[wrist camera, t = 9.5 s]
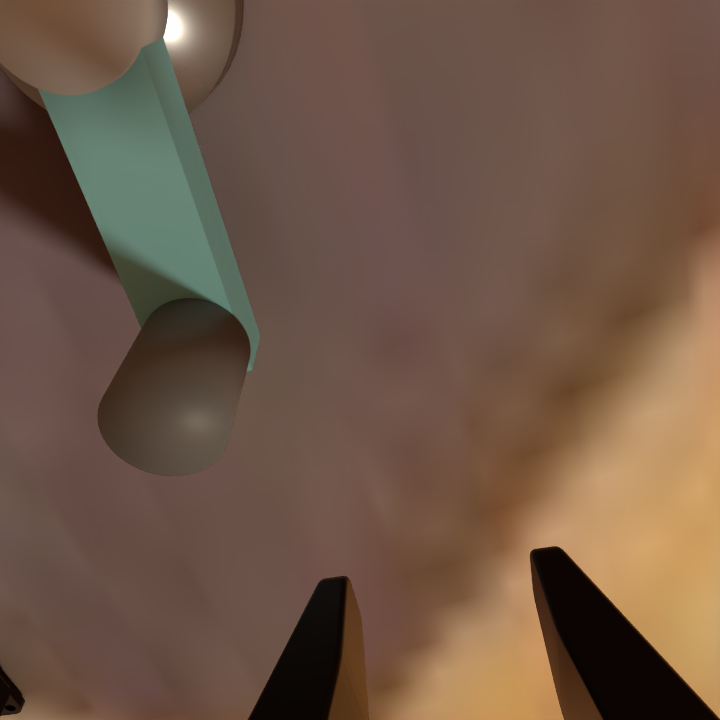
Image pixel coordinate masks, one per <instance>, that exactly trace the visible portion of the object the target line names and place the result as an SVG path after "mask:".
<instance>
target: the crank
mask: <svg viewBox="0 0 720 720" xmlns="http://www.w3.org/2000/svg"><path fill="white" fill-rule="evenodd" d="M167 21H168V0H0V63H1V64H2V65H3V66H4V67H5V68H6V69H8V70H9V71H10V72H11V73H12V74H14V75H15V76H17V77H18V78H19V79H21V80H22V81H24V82H26V83H28V84H30V85H32V86H33V87H36V88H38V90H39V92H40V95H41V97H42V99H43V102H44V104H45V106H46V109H47V111H48V113H49V116H50V118H51V120H52V123H53V125H54V127H55V129H56V132H57V134H58V136H59V139H60V141H61V143H62V146H63V148H64V150H65V153H66V155H67V157H68V160H69V162H70V164H71V167H72V169H73V171H74V173H75V176H76V178H77V180H78V183H79V185H80V187H81V190H82V192H83V194H84V197H85V199H86V201H87V204H88V206H89V208H90V210H91V213H92V215H93V217H94V220H95V222H96V224H97V227H98V229H99V231H100V234H101V236H102V238H103V241H104V243H105V245H106V248H107V250H108V252H109V254H110V257H111V259H112V261H113V264H114V266H115V268H116V271H117V273H118V275H119V278H120V280H121V282H122V285H123V287H124V289H125V291H126V294H127V296H128V298H129V301H130V303H131V305H132V308H133V310H134V312H135V315H136V317H137V319H138V322H139V324H140V326H141V331H140V332H139V334H138V336H137V338H136V339H135V341H134V343H133V345H132V347H131V348H130V350H129V352H128V354H127V355H126V357H125V359H124V361H123V362H122V364H121V366H120V368H119V369H118V371H117V373H116V375H115V376H114V378H113V380H112V382H111V383H110V385H109V387H108V389H107V391H106V392H105V394H104V396H103V398H102V400H101V402H100V404H99V408H98V425H99V429H100V432H101V434H102V437H103V438H104V440H105V442H106V443H107V445H108V446H109V447H110V448H111V450H112V451H113V452H114V453H115V454H116V455H117V456H119V457H120V458H121V459H122V460H124V461H125V462H127V463H128V464H130V465H132V466H134V467H136V468H138V469H140V470H143V471H146V472H149V473H153V474H157V475H164V476H183V475H189V474H193V473H196V472H199V471H202V470H204V469H206V468H208V467H209V466H211V465H212V464H214V463H215V462H216V461H217V460H218V459H219V458H220V457H221V455H222V454H223V452H224V451H225V449H226V446H227V444H228V440H229V436H230V433H231V429H232V425H233V421H234V417H235V414H236V410H237V406H238V402H239V398H240V394H241V391H242V387H243V383H244V379H245V375H246V371H251V370H252V368H253V364H254V360H255V356H256V352H257V348H258V344H259V340H260V334H259V331H258V328H257V325H256V322H255V319H254V315H253V312H252V309H251V306H250V303H249V300H248V297H247V294H246V291H245V288H244V285H243V282H242V278H241V275H240V272H239V269H238V266H237V263H236V260H235V257H234V254H233V251H232V248H231V245H230V242H229V238H228V235H227V232H226V229H225V226H224V223H223V220H222V217H221V214H220V211H219V208H218V205H217V202H216V198H215V195H214V192H213V189H212V186H211V183H210V180H209V177H208V174H207V171H206V168H205V165H204V161H203V158H202V155H201V152H200V149H199V146H198V143H197V140H196V137H195V134H194V131H193V128H192V125H191V121H190V118H189V115H188V112H187V109H186V106H185V103H184V100H183V97H182V94H181V91H180V88H179V84H178V81H177V78H176V75H175V72H174V69H173V66H172V63H171V60H170V57H169V54H168V51H167V48H166V44H165V41H164V38H163V37H164V35H165V31H166V27H167Z"/></svg>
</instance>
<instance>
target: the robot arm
mask: <svg viewBox="0 0 720 720" xmlns="http://www.w3.org/2000/svg"><path fill="white" fill-rule="evenodd" d="M530 562H531V573H532V584H533V593H534V598H535V603H536V608H537V612H538V616H539V620H540V625H541V629H542V633H543V637H544V641H545V646H546V650H547V654H548V658H549V663H550V667H551V671H552V675H553V680H554V684H555V688H556V692H557V696H558V700H559V704H560V707H561V711H562V714H563V717H564V720H720V718H719V717H718V716H717V715H716V714H715V713H714V712H713V711H712V710H711V709H710V708H709V707H708V706H707V704H706V703H705V702H704V701H703V700H702V699H701V698H700V697H699V696H698V695H697V694H696V693H695V692H694V690H693V689H692V688H691V687H690V686H689V685H688V684H687V683H686V682H685V681H684V680H683V679H682V678H681V676H680V675H679V674H678V673H677V672H676V671H675V670H674V669H673V668H672V667H671V666H670V665H669V664H668V662H667V661H666V660H665V659H664V658H663V657H662V656H661V655H660V654H659V653H658V652H657V651H656V649H655V648H654V647H653V646H652V645H651V644H650V643H649V642H648V641H647V640H646V639H645V638H644V637H643V635H642V634H641V633H640V632H639V631H638V630H637V629H636V628H635V627H634V626H633V625H632V624H631V623H630V621H629V620H628V619H627V618H626V617H625V616H624V615H623V614H622V613H621V612H620V611H619V610H618V609H617V607H616V606H615V605H614V604H613V603H612V602H611V601H610V600H609V599H608V598H607V597H606V596H605V595H604V593H603V592H602V591H601V590H600V589H599V588H598V587H597V586H596V585H595V584H594V583H593V582H592V580H591V579H590V578H589V577H588V576H587V575H586V574H585V573H584V572H583V571H582V570H581V569H580V568H579V566H578V565H577V564H576V563H575V562H574V561H573V560H572V559H571V558H570V557H569V556H568V555H567V554H566V552H565V551H564V550H562V549H561V548H560V547H557V546H553V547H546V548H539V549H534V550H532V551H531V553H530ZM24 703H25V700H24V698H23V697H22V696H21V695H20V693H19V692H18V691H17V690H16V689H15V687H14V686H13V685H12V684H11V682H10V681H9V680H8V679H7V678H6V676H5V675H4V674H3V673H2V671H1V670H0V716H2V715H10V714H17V713H19V712H21V710H22V707H23V705H24ZM248 720H369V712H368V698H367V684H366V670H365V656H364V643H363V629H362V620H361V615H360V610H359V607H358V604H357V601H356V597H355V594H354V591H353V588H352V584H351V582H350V580H349V578H348V577H346V576H340V577H333V578H325V579H322V580H321V581H320V582H319V583H318V585H317V587H316V589H315V591H314V593H313V594H312V596H311V598H310V600H309V602H308V604H307V606H306V608H305V610H304V612H303V614H302V616H301V618H300V620H299V622H298V624H297V625H296V627H295V629H294V631H293V633H292V635H291V637H290V639H289V641H288V643H287V645H286V647H285V649H284V651H283V653H282V655H281V656H280V658H279V660H278V662H277V664H276V666H275V668H274V670H273V672H272V674H271V676H270V678H269V680H268V682H267V684H266V686H265V688H264V689H263V691H262V693H261V695H260V697H259V699H258V701H257V703H256V705H255V707H254V709H253V711H252V713H251V715H250V717H249V719H248Z"/></svg>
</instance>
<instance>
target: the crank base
mask: <svg viewBox="0 0 720 720" xmlns="http://www.w3.org/2000/svg"><path fill="white" fill-rule="evenodd" d="M243 8H244V0H168V21H167V27H166V31H165V35H164V37H163V38H164V41H165V44H166V48H167V51H168V54H169V57H170V60H171V63H172V66H173V69H174V72H175V75H176V78H177V81H178V84H179V88H180V91H181V94H182V97H183V100H184V103H185V106H186V109H187V112H188V114H189V113H190V112H192V111H193V110H194V109H195V108H196V107H197V106H198V105H199V104H200V103H201V102H202V101H203V100H204V99H206V98H207V97H208V96H209V95H210V94H211V93H212V92H213V90H214V89H215V88H216V87H217V86H218V84H219V83H220V82H221V81H222V79H223V78H224V76H225V74H226V73H227V71H228V69H229V68H230V65H231V63H232V61H233V59H234V56H235V54H236V51H237V48H238V44H239V40H240V37H241V31H242V24H243ZM0 68H1V69H2V70H3V71H4V73H5V74H6V75H7V76H8V77H9V79H10V80H11V81H12V82H13V83H14V84H15V85H16V86H17V87H18V88H19V89H20V90H21V91H22V92H23V93H25V94H26V95H27V96H28V97H29V98H31V99H32V100H33V101H34V102H35V103H37V104H38V105H40V106H41V107H43V108H44V109H46V106H45V104H44V102H43V99H42V97H41V95H40V92H39V90H38V88H36V87H33V86H32V85H30V84H28V83H26V82H24V81H22V80H21V79H19V78H18V77H17V76H15V75H14V74H12V73H11V72H10V71H9V70H8V69H6V68H5V67H4V66H3V65H2V64H1V63H0ZM46 110H47V109H46Z"/></svg>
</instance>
